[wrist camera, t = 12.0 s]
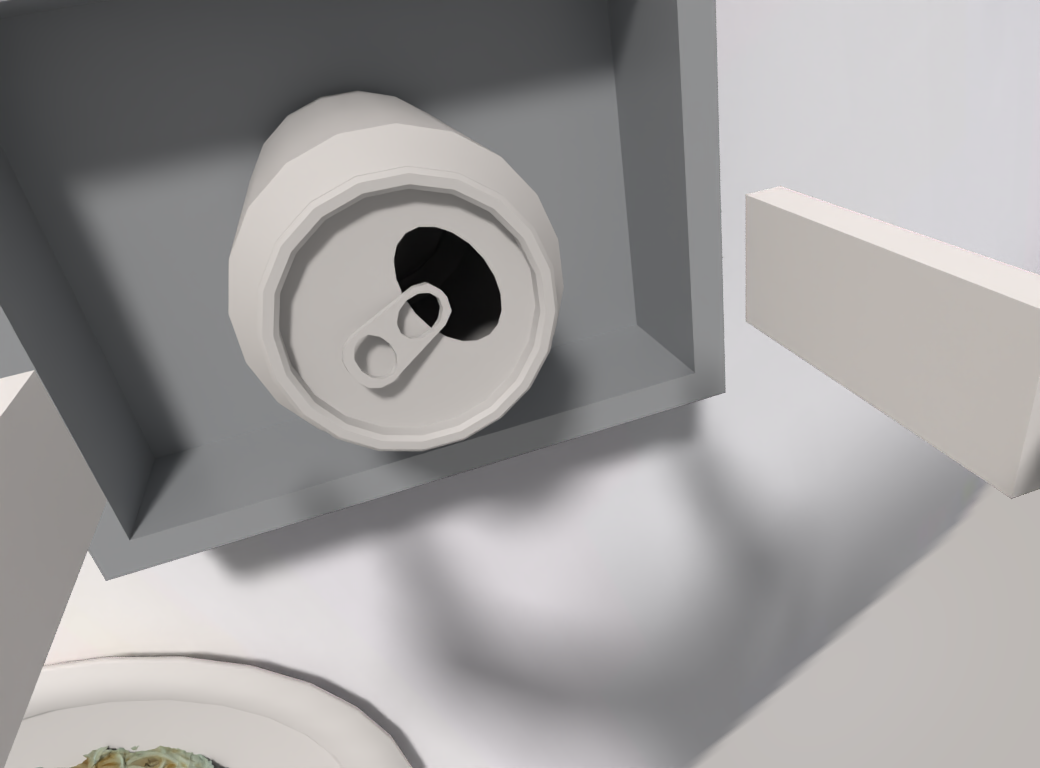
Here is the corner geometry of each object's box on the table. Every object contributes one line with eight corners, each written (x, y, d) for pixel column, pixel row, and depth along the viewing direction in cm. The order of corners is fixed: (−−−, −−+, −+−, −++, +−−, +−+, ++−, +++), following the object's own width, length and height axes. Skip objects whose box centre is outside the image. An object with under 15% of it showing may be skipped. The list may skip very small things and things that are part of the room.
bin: (618, -127, 24) (711, -171, 19) (654, 334, 32) (725, 392, 27) (-114, -12, 20) (-254, -27, 15) (139, 479, 28) (105, 581, 23)
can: (509, 220, 27) (648, 340, 16) (353, 345, 27) (392, 539, 17) (377, 38, 23) (450, 43, 13) (198, 185, 23) (126, 309, 13)
